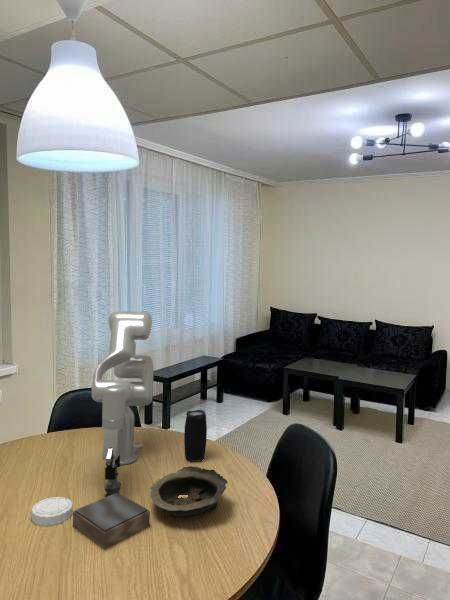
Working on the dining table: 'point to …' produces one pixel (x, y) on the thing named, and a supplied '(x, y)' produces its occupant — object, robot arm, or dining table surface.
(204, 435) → the portable speaker
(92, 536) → the walnut base
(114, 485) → the black chess piece
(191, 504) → the stone bowl
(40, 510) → the mooncake
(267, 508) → the dining table surface
